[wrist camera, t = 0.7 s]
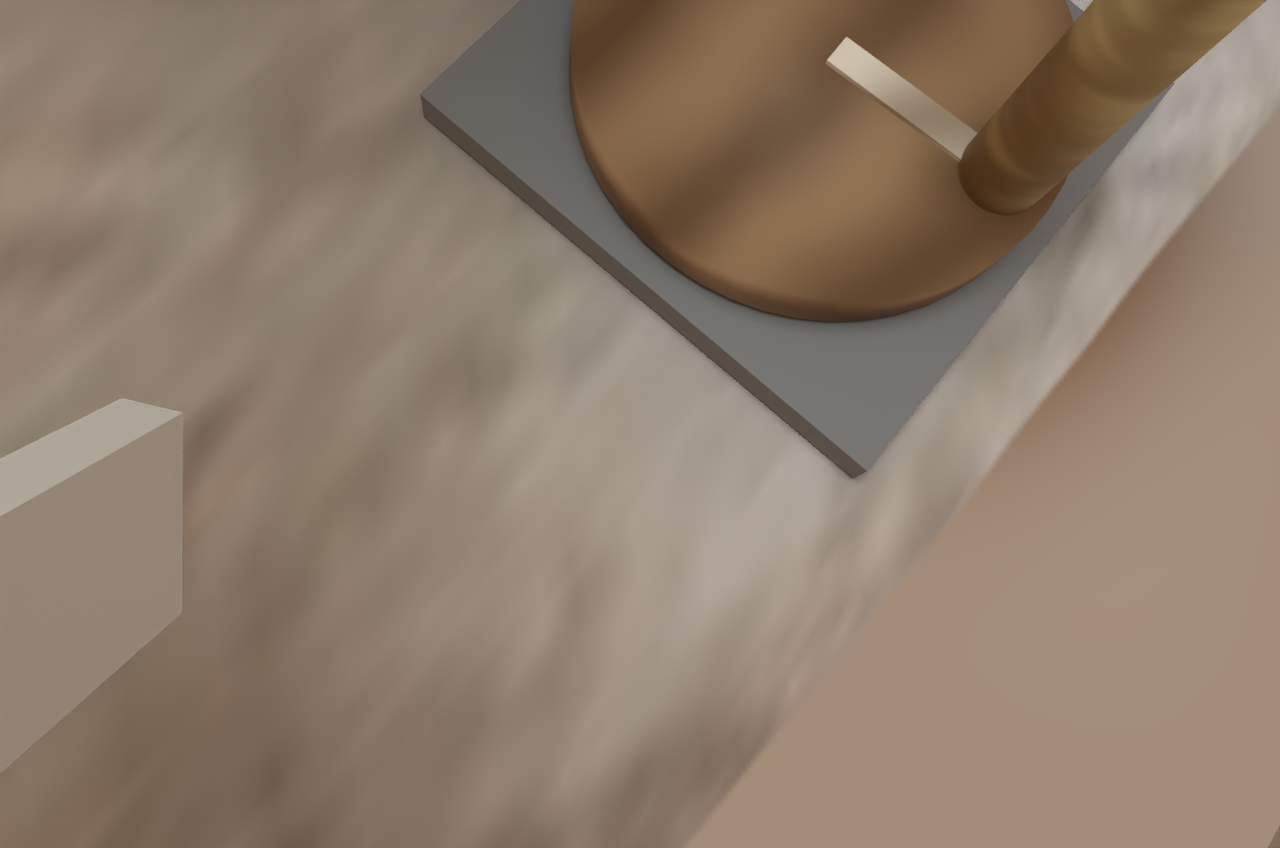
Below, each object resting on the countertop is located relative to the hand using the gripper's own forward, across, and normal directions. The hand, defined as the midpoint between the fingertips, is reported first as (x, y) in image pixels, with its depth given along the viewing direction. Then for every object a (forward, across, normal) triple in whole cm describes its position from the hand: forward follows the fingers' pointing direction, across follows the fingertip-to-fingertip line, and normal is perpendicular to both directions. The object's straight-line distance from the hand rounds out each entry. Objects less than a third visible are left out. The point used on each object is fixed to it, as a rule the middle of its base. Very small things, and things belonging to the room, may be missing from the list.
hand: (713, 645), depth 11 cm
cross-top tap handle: (+29, 0, +5) cm, 29 cm away
